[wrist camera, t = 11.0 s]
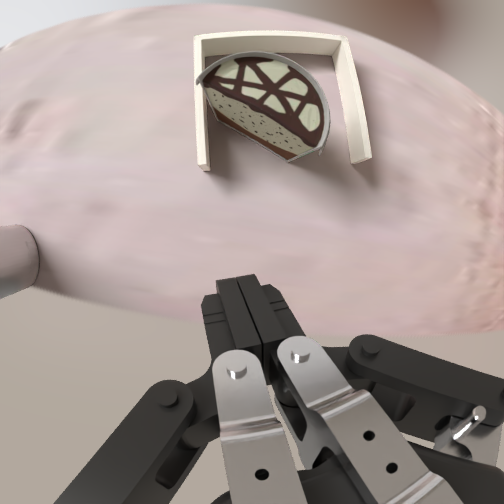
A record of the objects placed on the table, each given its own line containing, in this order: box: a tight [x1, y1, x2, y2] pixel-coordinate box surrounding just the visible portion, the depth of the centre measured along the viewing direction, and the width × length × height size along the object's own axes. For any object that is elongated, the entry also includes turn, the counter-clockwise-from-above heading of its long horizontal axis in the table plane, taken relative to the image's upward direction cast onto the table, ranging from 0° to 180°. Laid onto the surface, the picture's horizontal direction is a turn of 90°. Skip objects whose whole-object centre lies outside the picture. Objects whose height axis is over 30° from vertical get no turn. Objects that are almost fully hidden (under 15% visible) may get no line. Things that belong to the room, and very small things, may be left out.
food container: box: [196, 51, 330, 163], centre depth 24 cm, size 12×6×10 cm, turn 58°
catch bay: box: [194, 31, 372, 171], centre depth 26 cm, size 18×16×4 cm
